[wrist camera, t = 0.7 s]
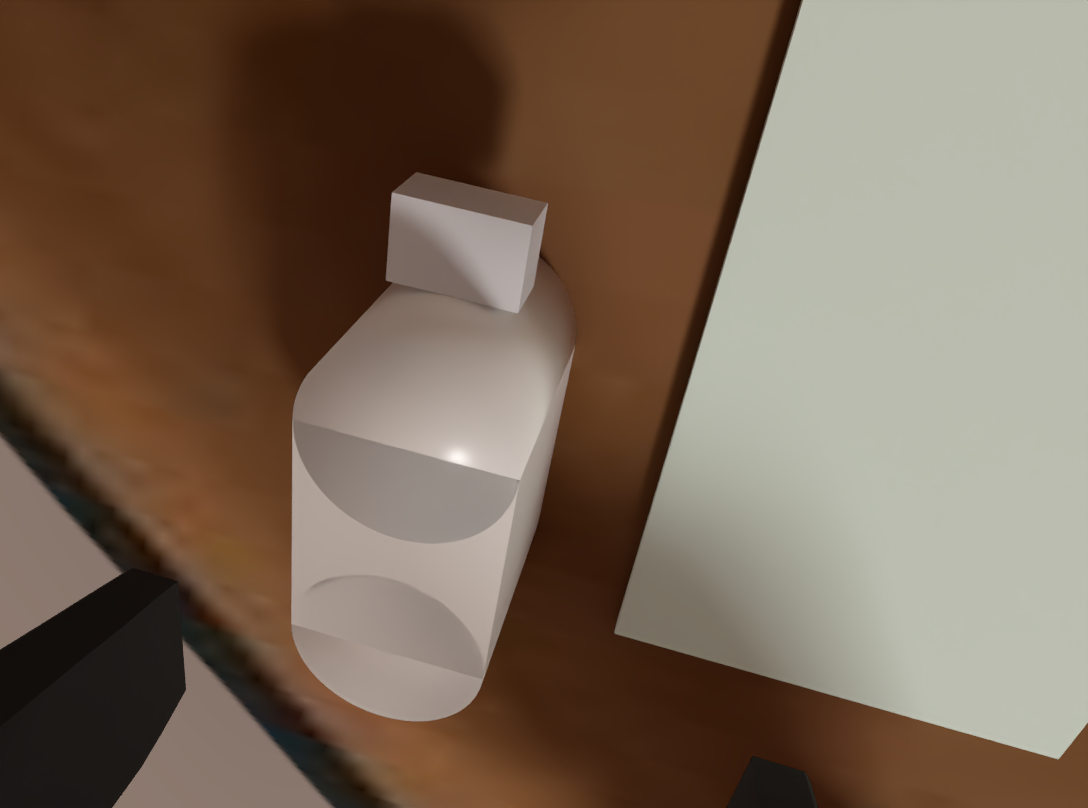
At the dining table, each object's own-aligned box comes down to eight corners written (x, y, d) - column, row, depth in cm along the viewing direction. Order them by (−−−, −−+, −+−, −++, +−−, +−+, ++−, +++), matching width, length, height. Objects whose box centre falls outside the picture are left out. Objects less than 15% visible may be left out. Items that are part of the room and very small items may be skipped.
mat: (1053, 745, 21) (1058, 759, 21) (616, 622, 22) (614, 633, 22) (1582, 64, 12) (1604, 70, 12) (826, -83, 14) (827, -82, 13)
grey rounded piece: (526, 580, 22) (471, 742, 18) (379, 539, 23) (291, 688, 18) (609, 181, 16) (556, 282, 12) (410, 136, 17) (292, 219, 13)
